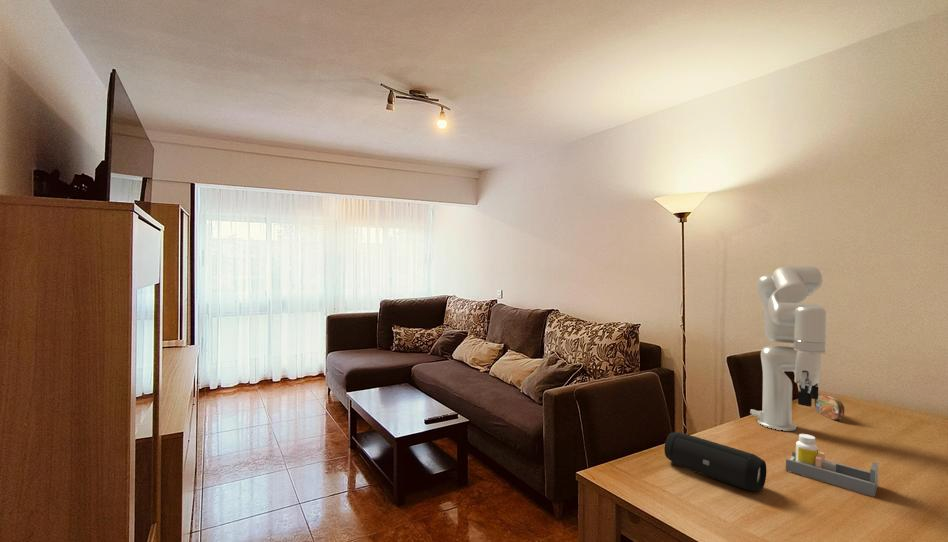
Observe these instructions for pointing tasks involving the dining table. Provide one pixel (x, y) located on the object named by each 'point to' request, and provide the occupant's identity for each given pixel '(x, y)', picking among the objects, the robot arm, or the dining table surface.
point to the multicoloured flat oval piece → (829, 407)
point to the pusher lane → (839, 475)
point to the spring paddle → (824, 463)
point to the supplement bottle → (806, 449)
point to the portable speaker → (716, 461)
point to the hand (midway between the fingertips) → (808, 401)
